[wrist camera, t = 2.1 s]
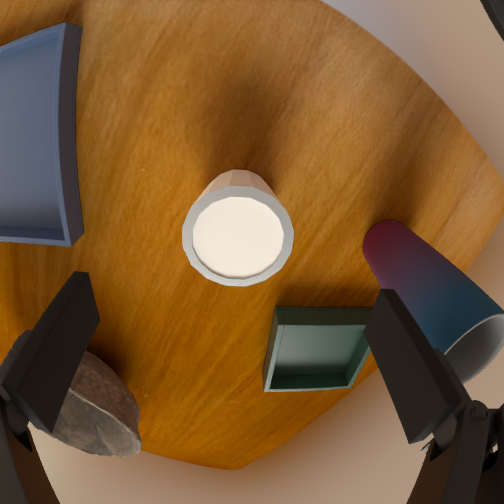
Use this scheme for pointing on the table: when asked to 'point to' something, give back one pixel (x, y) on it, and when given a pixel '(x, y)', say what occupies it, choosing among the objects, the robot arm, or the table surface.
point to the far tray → (315, 348)
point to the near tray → (40, 138)
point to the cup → (437, 297)
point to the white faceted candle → (237, 230)
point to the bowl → (99, 412)
